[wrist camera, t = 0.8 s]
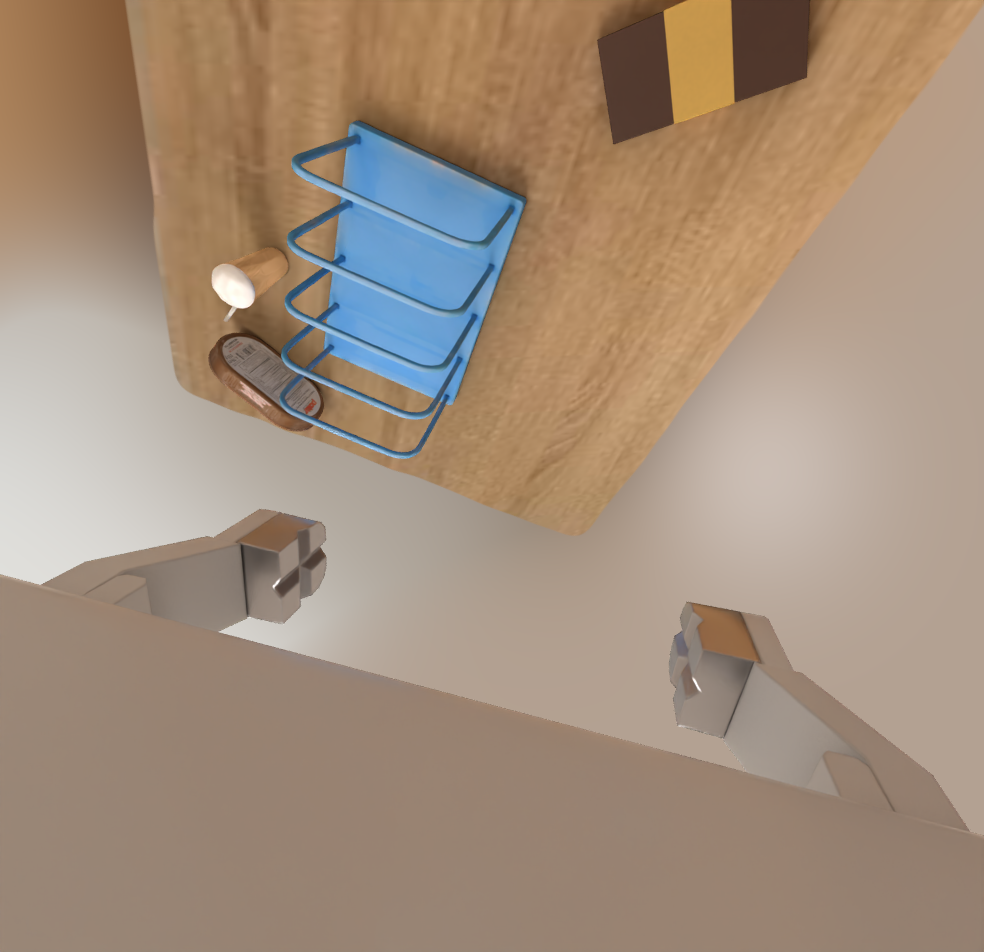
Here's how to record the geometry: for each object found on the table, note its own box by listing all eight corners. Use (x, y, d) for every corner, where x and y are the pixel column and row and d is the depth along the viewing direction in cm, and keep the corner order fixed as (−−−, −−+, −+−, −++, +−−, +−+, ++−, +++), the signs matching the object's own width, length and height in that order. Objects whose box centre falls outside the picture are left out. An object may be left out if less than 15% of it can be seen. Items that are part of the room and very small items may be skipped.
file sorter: (456, 398, 64) (414, 474, 53) (330, 343, 63) (261, 409, 52) (528, 197, 47) (489, 247, 36) (357, 118, 46) (263, 144, 35)
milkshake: (259, 279, 60) (204, 313, 53) (256, 234, 56) (197, 264, 49) (294, 293, 60) (245, 328, 53) (294, 248, 56) (240, 280, 49)
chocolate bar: (614, 142, 43) (613, 145, 42) (598, 38, 39) (597, 38, 38) (802, 77, 38) (807, 78, 36) (806, -51, 34) (811, -54, 32)
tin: (234, 333, 66) (191, 364, 60) (242, 318, 64) (199, 348, 58) (326, 409, 71) (296, 445, 65) (337, 397, 69) (306, 433, 63)
